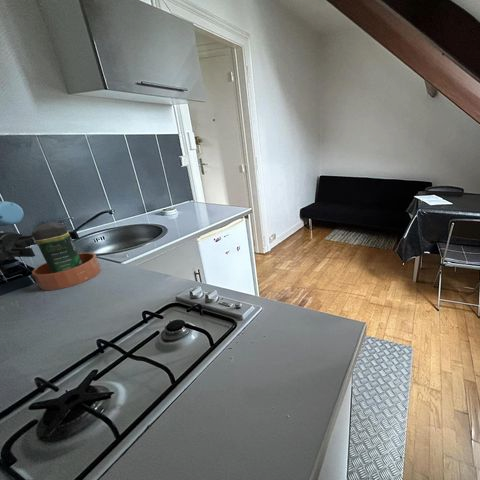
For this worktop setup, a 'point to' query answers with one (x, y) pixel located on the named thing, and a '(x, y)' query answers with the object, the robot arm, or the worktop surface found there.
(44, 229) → the coffee jar
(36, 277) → the bowl
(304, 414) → the worktop surface
